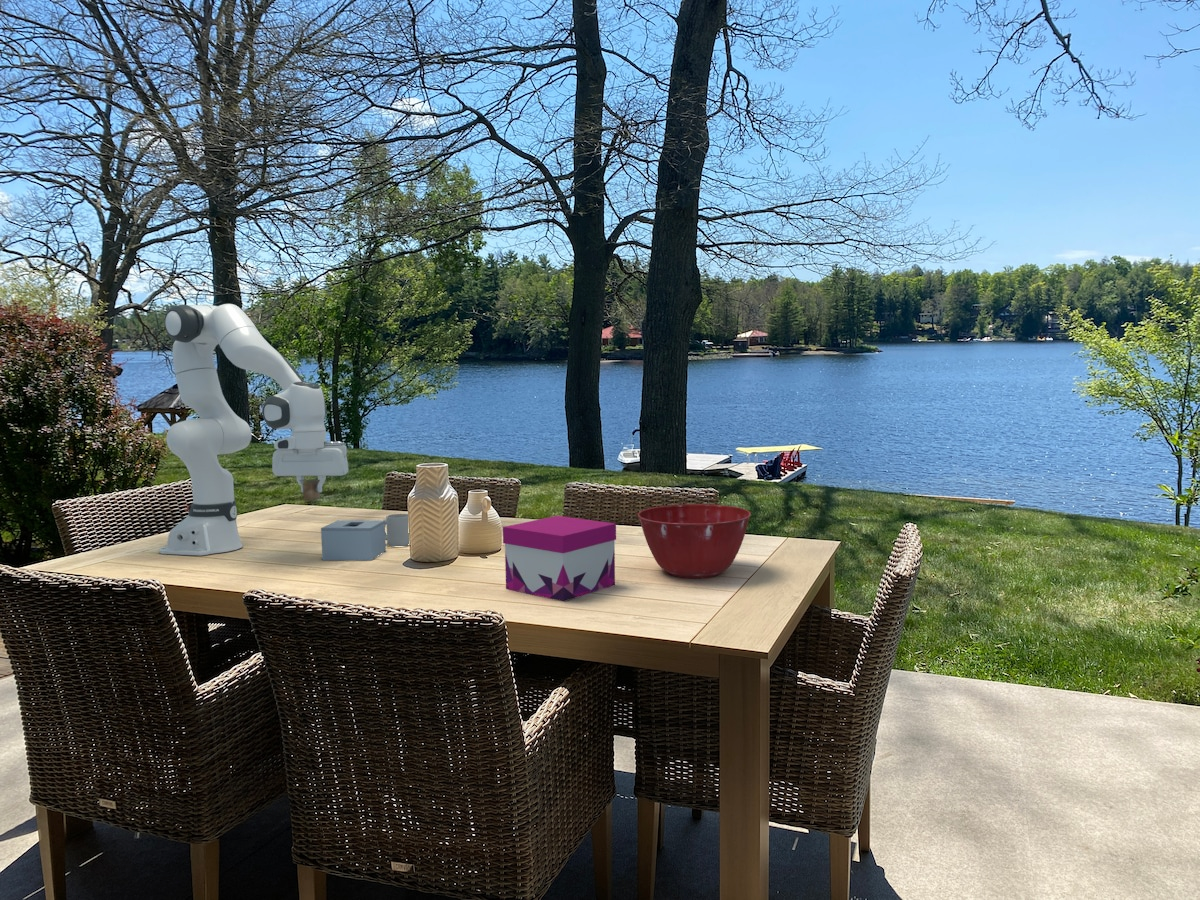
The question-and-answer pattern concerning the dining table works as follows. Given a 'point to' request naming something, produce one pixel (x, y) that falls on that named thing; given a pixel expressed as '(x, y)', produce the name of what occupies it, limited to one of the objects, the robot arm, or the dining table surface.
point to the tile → (310, 490)
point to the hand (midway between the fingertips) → (311, 492)
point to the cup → (397, 530)
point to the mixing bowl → (694, 537)
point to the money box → (353, 540)
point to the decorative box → (559, 557)
